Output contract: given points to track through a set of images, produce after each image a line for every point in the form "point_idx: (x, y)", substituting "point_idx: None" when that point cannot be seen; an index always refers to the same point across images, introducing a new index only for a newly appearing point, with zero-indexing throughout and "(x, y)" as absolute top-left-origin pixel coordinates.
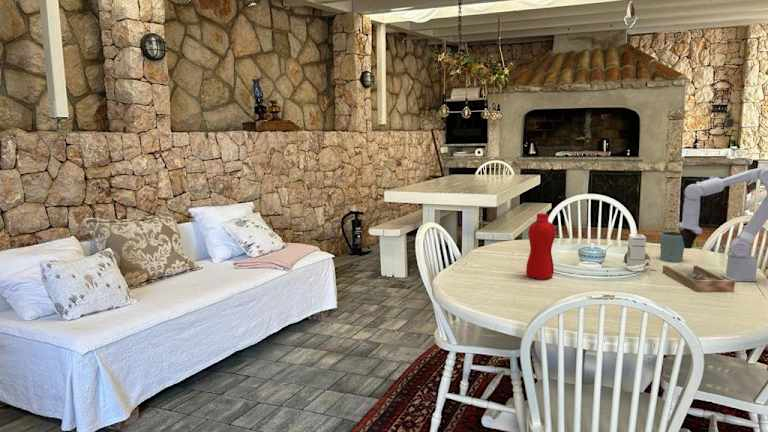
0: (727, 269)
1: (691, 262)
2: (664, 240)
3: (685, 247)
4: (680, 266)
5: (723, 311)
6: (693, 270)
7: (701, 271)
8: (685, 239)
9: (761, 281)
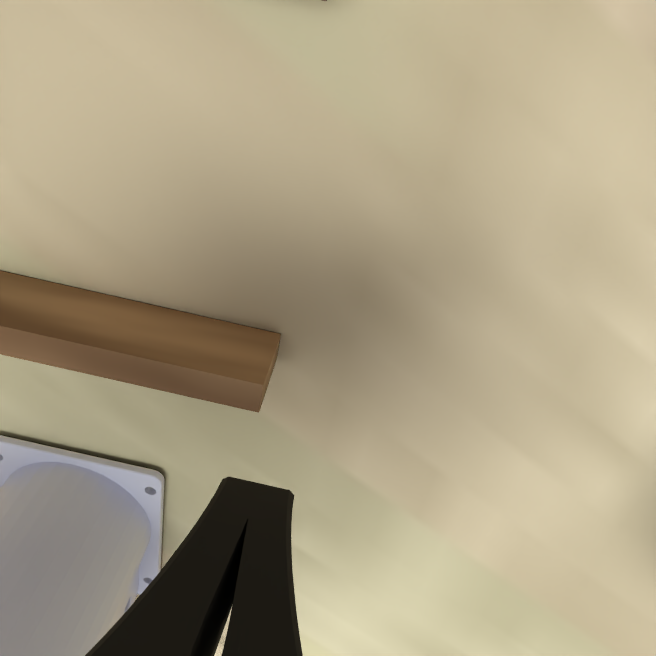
0: (47, 520)
1: (629, 569)
2: None
3: (237, 490)
4: (552, 398)
5: None
6: (270, 349)
7: (96, 331)
8: (135, 652)
9: None
